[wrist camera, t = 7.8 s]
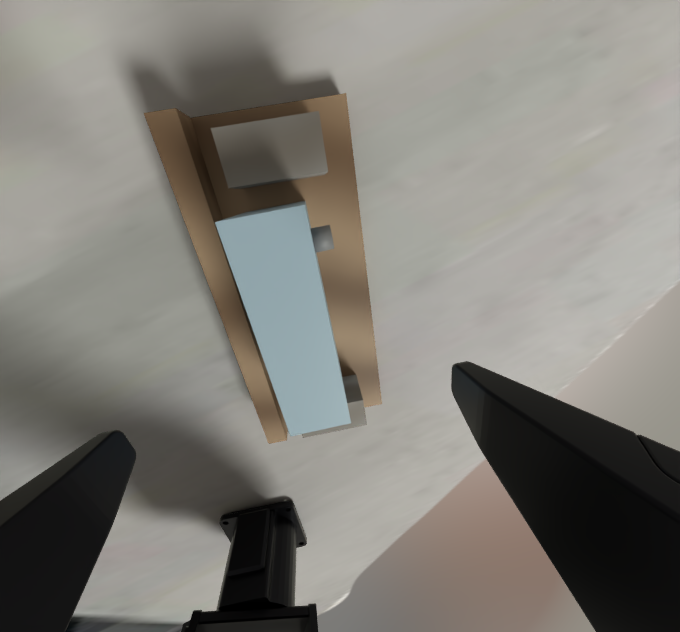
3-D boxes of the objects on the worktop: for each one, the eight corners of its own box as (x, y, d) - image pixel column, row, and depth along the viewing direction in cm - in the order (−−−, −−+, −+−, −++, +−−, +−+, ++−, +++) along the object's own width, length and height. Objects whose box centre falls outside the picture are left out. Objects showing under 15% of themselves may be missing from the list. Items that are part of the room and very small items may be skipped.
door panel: (351, 361, 18) (367, 419, 13) (294, 374, 18) (290, 436, 13) (321, 197, 14) (328, 200, 9) (245, 212, 13) (215, 222, 9)
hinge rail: (378, 394, 20) (391, 431, 17) (272, 415, 20) (266, 457, 17) (343, 100, 13) (355, 70, 10) (172, 127, 13) (128, 105, 9)
